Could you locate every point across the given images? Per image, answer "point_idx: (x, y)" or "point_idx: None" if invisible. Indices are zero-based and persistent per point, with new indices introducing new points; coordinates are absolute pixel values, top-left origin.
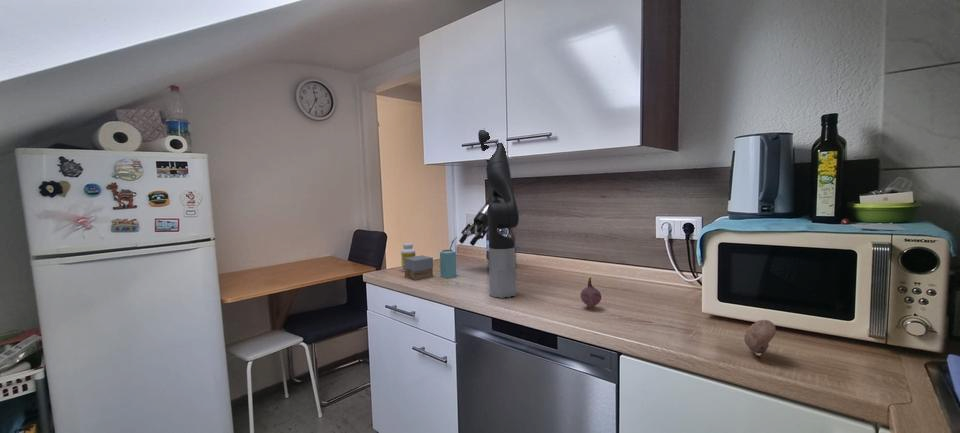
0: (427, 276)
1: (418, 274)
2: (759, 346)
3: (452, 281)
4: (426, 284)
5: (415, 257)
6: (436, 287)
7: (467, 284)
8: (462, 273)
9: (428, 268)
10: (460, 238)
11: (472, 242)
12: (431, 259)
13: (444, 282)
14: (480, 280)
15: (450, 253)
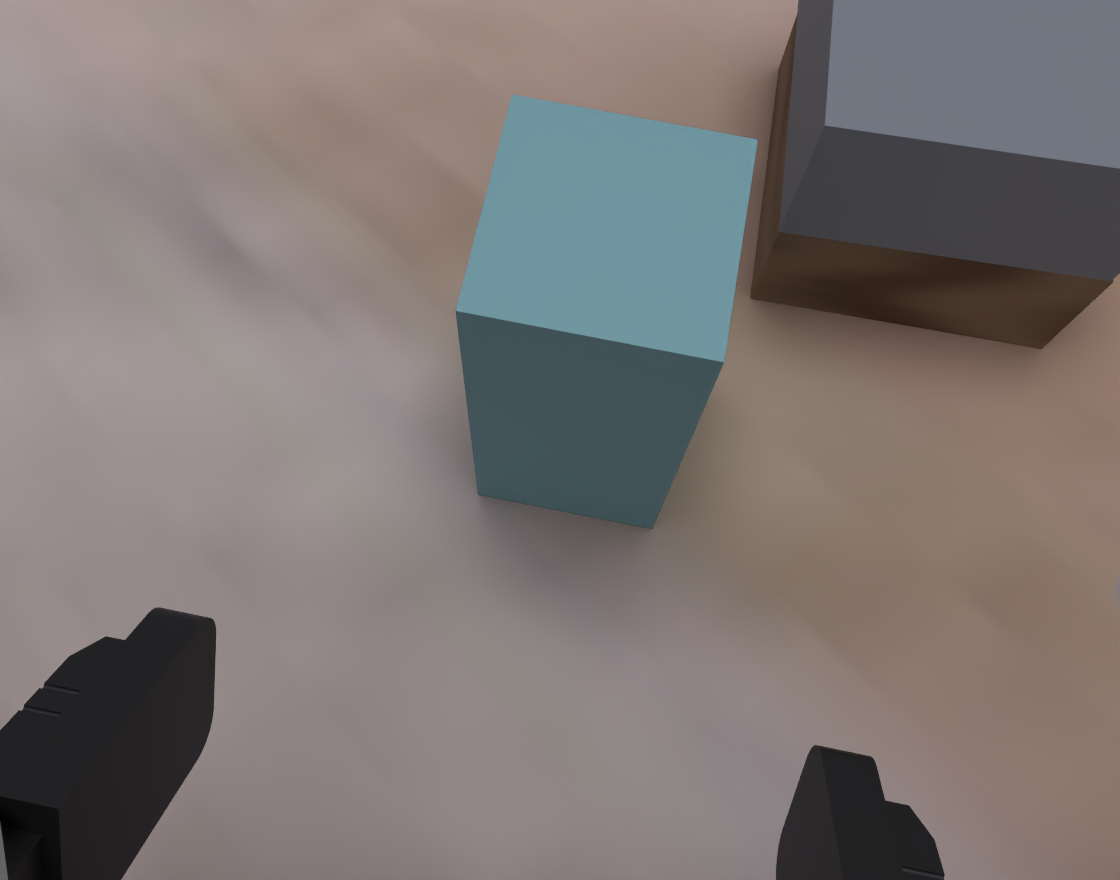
0: (766, 211)
1: (791, 63)
2: None
3: (344, 284)
4: (519, 35)
5: (1097, 2)
6: (321, 14)
7: (64, 284)
8: (560, 725)
9: (787, 157)
10: (893, 827)
11: (103, 638)
12: (820, 119)
13: (400, 198)
14: (12, 541)
15: (487, 192)
